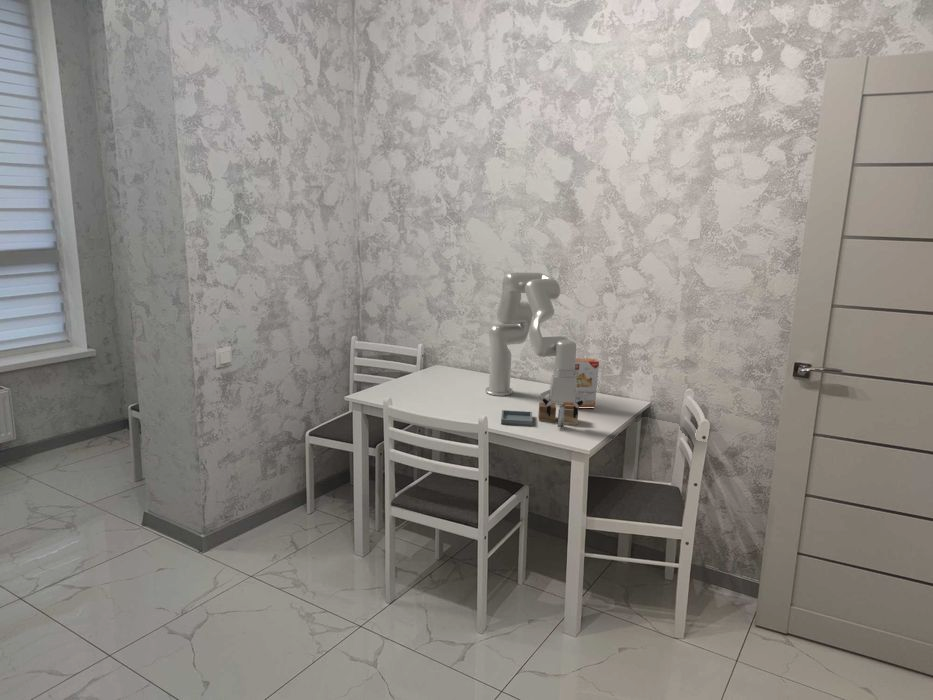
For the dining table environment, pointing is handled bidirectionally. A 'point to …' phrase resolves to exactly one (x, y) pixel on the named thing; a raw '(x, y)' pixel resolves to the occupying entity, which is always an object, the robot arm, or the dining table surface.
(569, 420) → the oak block
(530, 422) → the tray
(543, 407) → the walnut block
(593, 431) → the dining table surface
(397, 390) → the dining table surface
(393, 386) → the dining table surface
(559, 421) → the steel pin
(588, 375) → the cracker box
